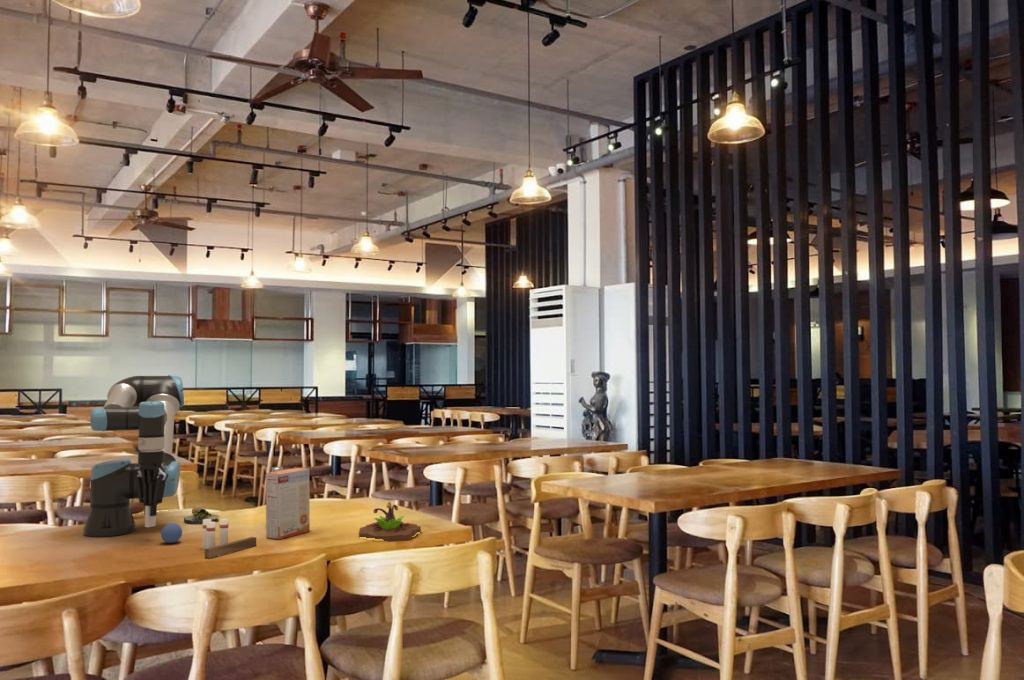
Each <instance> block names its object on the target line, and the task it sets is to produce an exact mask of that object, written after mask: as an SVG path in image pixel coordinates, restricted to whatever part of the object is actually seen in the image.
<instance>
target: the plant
mask: <svg viewBox="0 0 1024 680" xmlns="http://www.w3.org/2000/svg"><path fill="white" fill-rule="evenodd" d="M386 509H388V512H387V511H386V510H385V509H383V508H379V507H378V508H377V507H376V508H374V509H373V514H377V513H378V511H381V512H382V513H384V515H385V516H382V515H380V516H379V518H377V517H373V519H374V520H375V521H376V522H372V523H370V524H366V525H365V526H363V527H360V528H359V531H358V538H359V537H366V538H375V539H383V540H384V541H387V543H389V542H405V541H406V542H408V541H411V540H412V539H413V538H412V536H414V535H415V534H416V533H417V532H420V531H421V532H422V529H421V526H419V525H418V524H415V523H410V522H406V523H405V522H404V521H402V520H403V519H404V518H405V515H403V516H399V517H398V518H396V516H395V513H394V512H395V511H398V510H399V507H398V506H397V505H396V504H393V505H392V503H391V502H387V504H386ZM394 510H395V511H394ZM411 538H412V539H411Z"/></svg>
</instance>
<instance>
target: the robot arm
mask: <svg viewBox="0 0 1024 680" xmlns="http://www.w3.org/2000/svg"><path fill="white" fill-rule="evenodd" d="M184 396H185V395H184V385H183V380H182V377H180V376H179V375H171V374H168V375H135V376H134V375H133V376H129V377H125V378H123V379H121V380H119V381H117V382H116V383H114V384H113V385H112V386H111V387H110V388H109V389H108V391H107V397H106V398H107V400H106V402H105V404H104V405H103V406H99V407H93V408H92V409H91V412H90V428H91V430H92V431H95V432H107V431H108V432H112V431H113V432H115V431H117V432H118V431H119V432H120V431H138V444H137V445H138V446H137V447H138V450H139V452H138V453H137V462H136V463H135V462H134V463H132V460H131V459H130V458H123V459H114V460H109V461H108V460H107V461H103V462H98V463H96V464H94V465H93V466H92V467H91V471H90V478H89V481H90V497H89V498H90V500H89V501H90V505H89V506H90V507H89V513H88V515H87V518H86V521H85V524H84V526H83V535H84V536H87V537H94V538H95V537H96V538H97V537H102V538H103V537H114V536H122V535H126V534H129V533H130V534H131V533H133V532H135V531H136V521H135V518H134V515H133V513H132V510H131V507H130V504H131V500H133V499H134V500H135V499H136V500H138V502H139V503H140V504H142V505H143V506H144V507H143V510H144V511H143V514H144V528H151V527H156V521H157V517H156V516H157V515H158V514H157V513H158V512H157V511H158V510H157V509H158V508H157V506H158V505H159V504H162V503H163V498H169V497H173V496H175V495H176V493H177V491H178V489H179V483H180V477H181V476H180V475H181V462H179V461H177V459H176V457H174V455H173V446H174V445H173V444H174V442H173V441H174V429H175V428H174V426H175V415H176V414H177V412H179V410H180V408H182V407H184V405H185V397H184Z"/></svg>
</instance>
